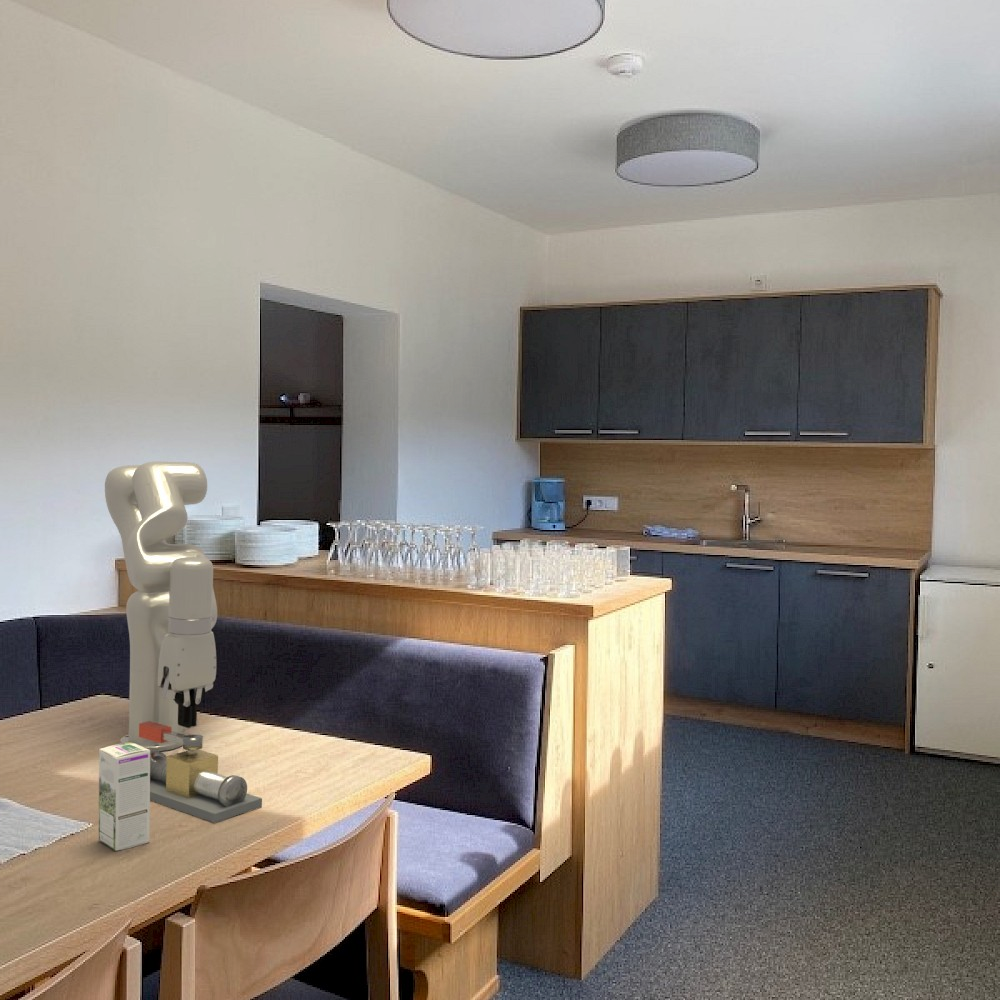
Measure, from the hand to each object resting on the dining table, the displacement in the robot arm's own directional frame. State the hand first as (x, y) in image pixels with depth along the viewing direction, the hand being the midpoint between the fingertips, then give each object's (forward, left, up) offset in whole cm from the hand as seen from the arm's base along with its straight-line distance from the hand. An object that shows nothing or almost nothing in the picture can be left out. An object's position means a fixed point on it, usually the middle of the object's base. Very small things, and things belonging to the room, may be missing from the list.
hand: (187, 725), depth 188 cm
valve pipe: (+7, +10, -10) cm, 15 cm away
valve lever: (+7, +4, -2) cm, 8 cm away
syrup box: (+26, +18, -10) cm, 33 cm away
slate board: (+7, +10, -10) cm, 15 cm away
